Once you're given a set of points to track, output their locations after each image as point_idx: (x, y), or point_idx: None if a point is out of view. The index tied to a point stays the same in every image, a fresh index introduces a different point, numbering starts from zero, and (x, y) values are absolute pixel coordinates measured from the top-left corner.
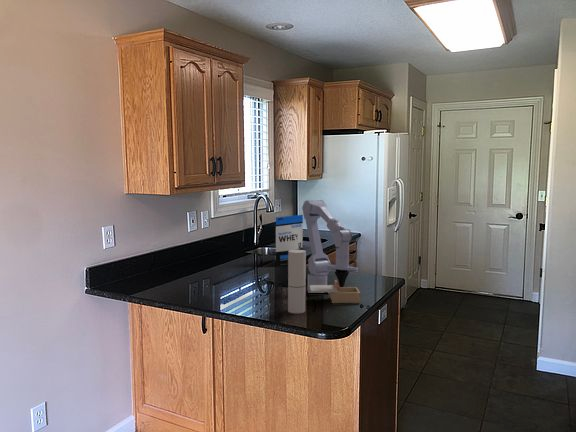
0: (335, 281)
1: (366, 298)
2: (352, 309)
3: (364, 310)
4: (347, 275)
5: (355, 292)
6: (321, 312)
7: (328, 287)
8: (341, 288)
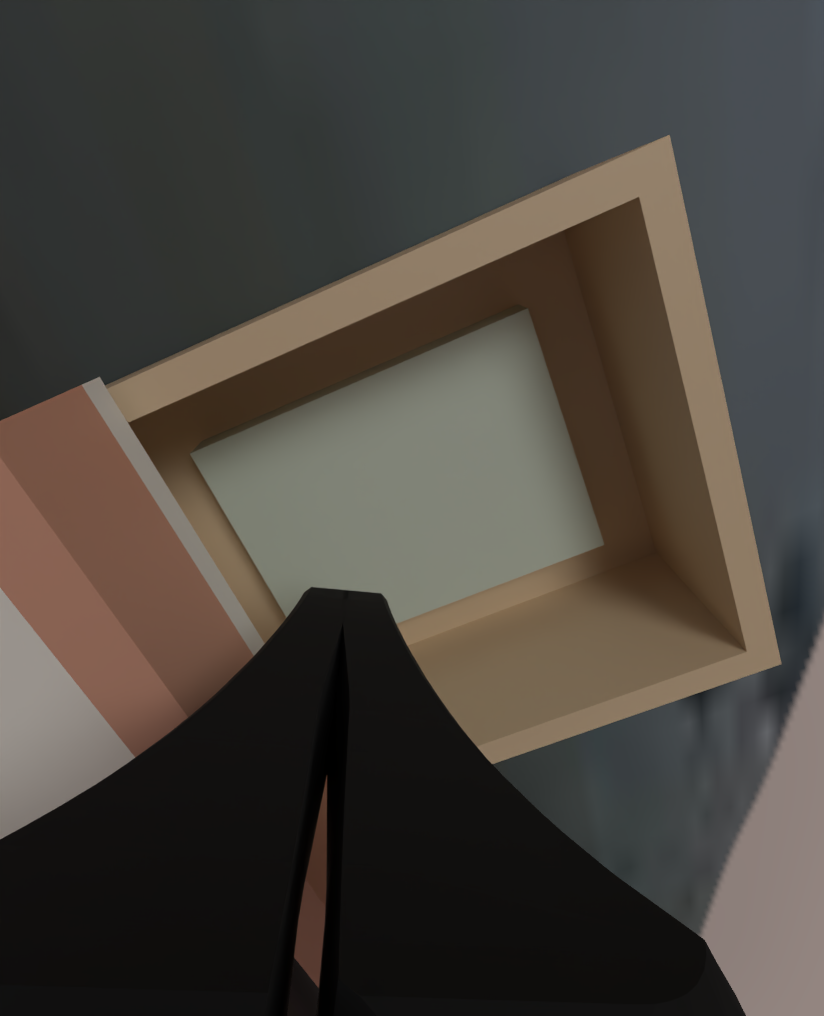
0: (72, 671)
1: (780, 128)
2: (595, 795)
3: (743, 779)
4: (551, 834)
5: (681, 681)
6: (292, 979)
7: (22, 706)
8: (257, 359)
